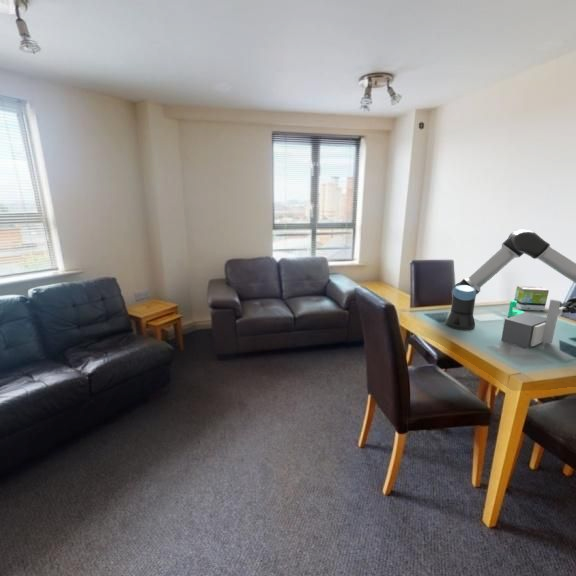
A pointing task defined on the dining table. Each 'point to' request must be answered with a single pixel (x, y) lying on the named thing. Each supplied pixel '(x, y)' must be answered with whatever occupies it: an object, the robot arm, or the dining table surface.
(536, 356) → the dining table surface
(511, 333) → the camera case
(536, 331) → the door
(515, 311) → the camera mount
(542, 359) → the dining table surface
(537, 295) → the tea box
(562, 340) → the dining table surface
